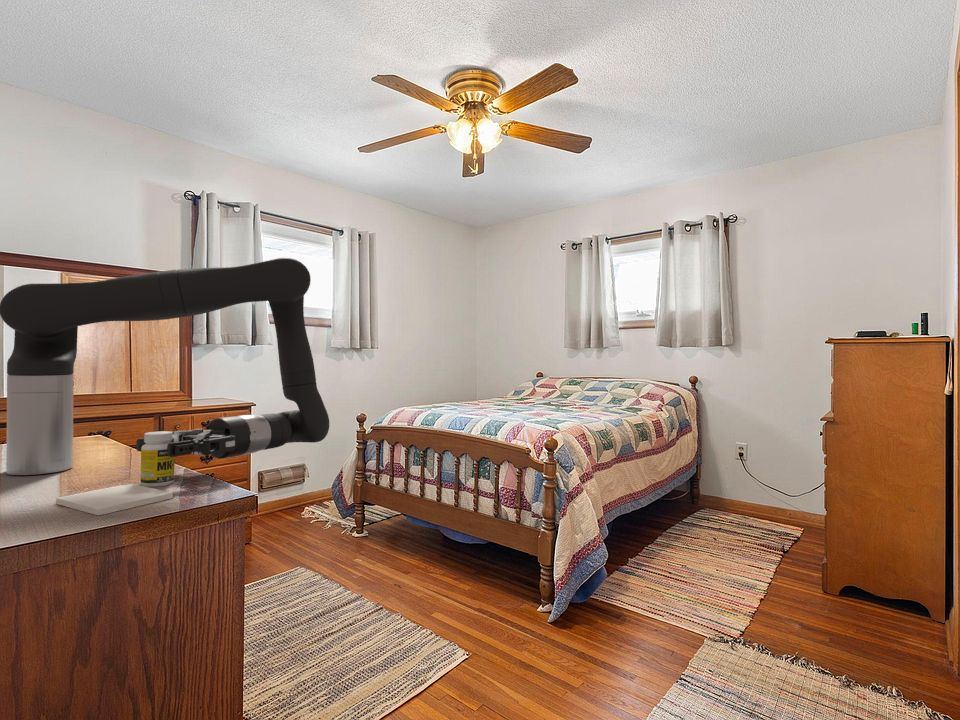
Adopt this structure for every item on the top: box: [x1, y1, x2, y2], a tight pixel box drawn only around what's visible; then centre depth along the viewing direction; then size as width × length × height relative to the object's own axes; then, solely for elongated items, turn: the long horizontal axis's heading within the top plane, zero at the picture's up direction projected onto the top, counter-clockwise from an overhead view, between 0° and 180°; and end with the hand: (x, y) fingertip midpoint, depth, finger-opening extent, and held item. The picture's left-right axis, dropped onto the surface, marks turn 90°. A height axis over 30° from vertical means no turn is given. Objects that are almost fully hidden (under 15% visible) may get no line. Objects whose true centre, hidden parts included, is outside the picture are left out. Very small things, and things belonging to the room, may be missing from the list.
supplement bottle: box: [140, 430, 176, 488], centre depth 87 cm, size 5×5×8 cm
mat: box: [55, 482, 174, 516], centre depth 77 cm, size 11×10×1 cm
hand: (152, 447), depth 86 cm, fingers open, 8 cm apart
